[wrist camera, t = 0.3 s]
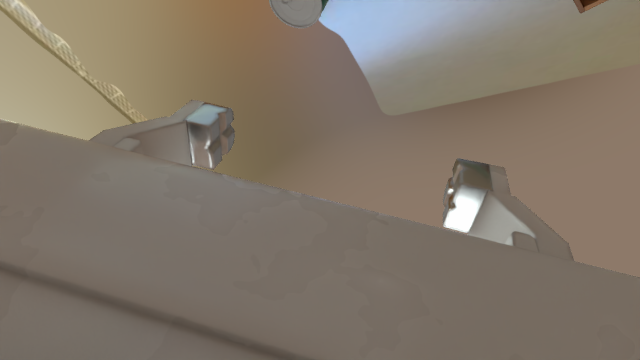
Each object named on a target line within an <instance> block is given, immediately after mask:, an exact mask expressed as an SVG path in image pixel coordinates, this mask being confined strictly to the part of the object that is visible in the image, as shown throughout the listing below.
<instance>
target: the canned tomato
mask: <svg viewBox="0 0 640 360" xmlns="http://www.w3.org/2000/svg"><path fill="white" fill-rule="evenodd" d="M327 2H328V0H269V3H270V6H271V8H272V10H273V12H274V13H275V15H276V16H277V17H278V18H279V19H280V20H281V21H282V22H284V23H285V24H287V25H289V26H291V27H295V28H307V27H310V26H312V25H313V24H315V23H316V22H317V21H318V19H319V17H320V16H321V13H322V11H323V10H324V8H325V6H326V4H327Z"/></svg>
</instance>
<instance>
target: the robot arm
mask: <svg viewBox="0 0 640 360" xmlns="http://www.w3.org/2000/svg"><path fill="white" fill-rule="evenodd" d="M233 120H234V117H233V111H232V109H231V108H228V107H223V106H219V105H215V104H211V103H206V102H203V101H198V100H191V101H190V102H188V103H187V104H186V105H184V106H183V107H182V108H181V109H180V110H178V111H177V112H175V113H174V114H173V115H172V116H170V117H161V118H157V119H153V120H148V121H143V122H139V123H134V124H130V125H126V126H122V127H117V128H112V129H108V130H103V131H102V132H100V133H99V134H98V135H96V136H94V137H93V138H92V139H90V140H89V141H87V140H83V139H79V138H75V137H71V136H67V135H63V134H59V133H55V132H51V131H47V130H43V129H39V128H35V127H31V126H27V125H22V124H19V123H15V122H11V121H7V120H3V119H0V360H640V277H636V276H631V275H627V274H624V273H620V272H616V271H612V270H607V269H604V268H600V267H596V266H592V265H587V264H584V263H580V262H575V261H574V259H573V256H572V253H571V250H570V247H569V244H568V243H567V242H566V241H565V240H564V239H563V238H562V237H561V236H559V235H558V234H557V233H556V232H555V231H554V230H553V229H552V228H550V227H549V226H548V225H547V224H546V223H545V222H544V221H543V220H541V219H540V218H539V217H538V216H537V215H536V214H535V213H533V212H532V211H531V210H530V209H529V208H528V207H527V206H526V205H524V204H523V203H522V202H521V201H520V200H519V199H517V197H515V196H511V193H510V189H509V184H508V179H507V175H506V171H505V168H504V167H500V166H495V165H489V164H484V163H480V162H474V161H469V160H464V159H457V160H456V162H455V164H454V167H453V177H452V178H450V179H449V180H448V183H447V186H446V189H445V193H444V199H443V205H444V206H445V209H444V212H443V226H444V227H447V228H451V229H454V230H458V231H462V232H465V233H469V234H468V235H467V234H463V233H459V232H455V231H450V230H446V229H442V228H438V227H434V226H430V225H426V224H422V223H418V222H414V221H410V220H406V219H402V218H398V217H394V216H390V215H386V214H382V213H378V212H374V211H369V210H366V209H362V208H357V207H354V206H350V205H345V204H341V203H337V202H333V201H329V200H325V199H321V198H317V197H313V196H309V195H305V194H301V193H297V192H293V191H289V190H285V189H281V188H277V187H273V186H269V185H264V184H261V183H257V182H252V181H248V180H244V179H241V178H237V177H232V176H228V175H225V174H221V173H216V172H213V171H208V170H204V169H200V168H196V167H192V165H195V166H199V167H204V168H208V169H215V167H216V166H217V165H218V164H219V163H220V162H221V161H222V155H224V154H227V153H228V152H229V151H230V150H231V148H232V146H233V143H234V137H235V134H234V129H233V128H232V126H231V123H232V121H233Z"/></svg>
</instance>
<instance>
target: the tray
mask: <svg viewBox="0 0 640 360" xmlns="http://www.w3.org/2000/svg"><path fill="white" fill-rule="evenodd" d="M573 1H574V3H575V4H576V6H577V8H578V10H579V12H580V13H583V12H585V11H587V10H589V9H591V8H593V7H595V6H597V5H599V4H601V3H603V2H605V1H607V0H573Z"/></svg>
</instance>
